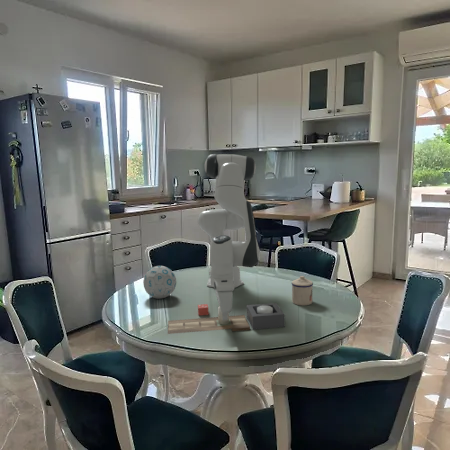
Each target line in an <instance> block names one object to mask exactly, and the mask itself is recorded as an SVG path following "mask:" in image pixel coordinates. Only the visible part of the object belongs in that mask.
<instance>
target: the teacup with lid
mask: <svg viewBox="0 0 450 450" xmlns="http://www.w3.org/2000/svg"><path fill="white" fill-rule="evenodd" d="M313 285H314V282H313V281H312V280H310V279H307V278H306V277H305V276H303V275H301V276H299V278H296V279H294V280H292V281H291V290H292V291H291V292H292V293H291V299H292V300H291V301H292V303H293V304H294V305H297V306H309V305H312V303H313Z"/></svg>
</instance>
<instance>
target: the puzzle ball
mask: <svg viewBox="0 0 450 450" xmlns="http://www.w3.org/2000/svg"><path fill="white" fill-rule="evenodd" d="M176 286H177V277H176V275H175V273H174V271H172V269H171V268H169V267H167V266H164V265H156V266H153V267H151V268H150V269H149V270H147V272H146V273H145V274H144V277H143V288H144V290H145V292H146V294H148V295H149V296H150V297H152V298H154V299H158V300H161V299H165V298H167V297H169V296H170V295H172V294H173V292H174V291H175V289H176Z"/></svg>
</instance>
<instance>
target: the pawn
mask: <svg viewBox="0 0 450 450" xmlns="http://www.w3.org/2000/svg"><path fill="white" fill-rule="evenodd" d="M229 316H230V312H228V319H227V320H223V318H222V312H221V309H220V306H219V305H218V307H217V317H218V323H219V324H222V325H225V324H228V323H229Z"/></svg>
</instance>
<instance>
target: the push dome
mask: <svg viewBox="0 0 450 450" xmlns="http://www.w3.org/2000/svg"><path fill="white" fill-rule="evenodd" d="M266 313H273V308H272V307H271V306H265V305H264V306H259V307H257V314H266Z"/></svg>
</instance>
